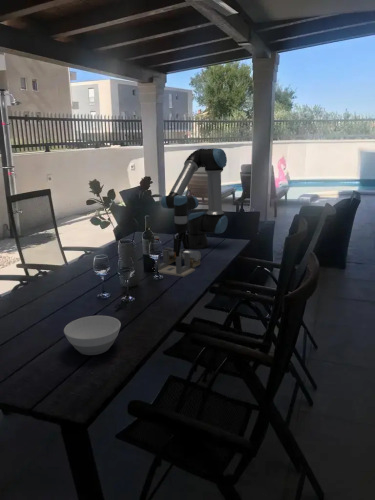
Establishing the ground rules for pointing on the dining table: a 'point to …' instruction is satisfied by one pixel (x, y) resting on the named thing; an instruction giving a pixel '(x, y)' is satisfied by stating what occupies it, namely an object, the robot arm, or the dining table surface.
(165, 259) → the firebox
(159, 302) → the dining table surface
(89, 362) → the dining table surface
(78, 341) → the bowl
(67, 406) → the dining table surface
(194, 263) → the rack
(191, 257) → the tube
